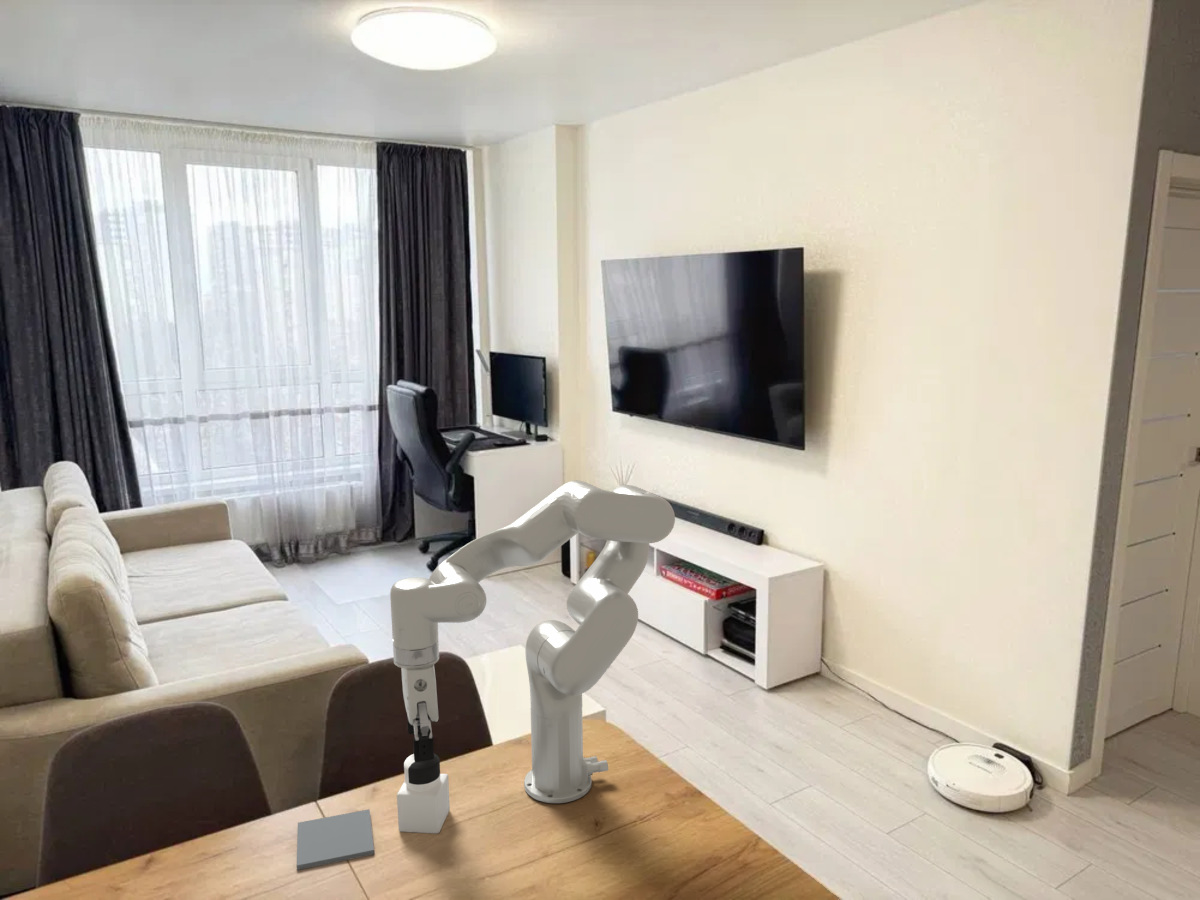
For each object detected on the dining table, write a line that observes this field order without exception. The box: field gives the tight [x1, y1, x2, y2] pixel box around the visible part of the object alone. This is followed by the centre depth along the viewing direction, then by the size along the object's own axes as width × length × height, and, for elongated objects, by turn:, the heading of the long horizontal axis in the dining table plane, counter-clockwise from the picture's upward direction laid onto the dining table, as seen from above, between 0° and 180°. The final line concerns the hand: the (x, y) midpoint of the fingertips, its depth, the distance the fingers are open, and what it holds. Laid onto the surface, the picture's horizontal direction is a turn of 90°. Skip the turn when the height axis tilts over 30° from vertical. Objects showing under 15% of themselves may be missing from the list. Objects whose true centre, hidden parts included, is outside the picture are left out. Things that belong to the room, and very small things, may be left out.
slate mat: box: [296, 808, 375, 871], centre depth 143 cm, size 12×12×1 cm
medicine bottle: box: [396, 752, 451, 834], centre depth 147 cm, size 7×7×12 cm
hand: (420, 745), depth 146 cm, fingers open, 9 cm apart
